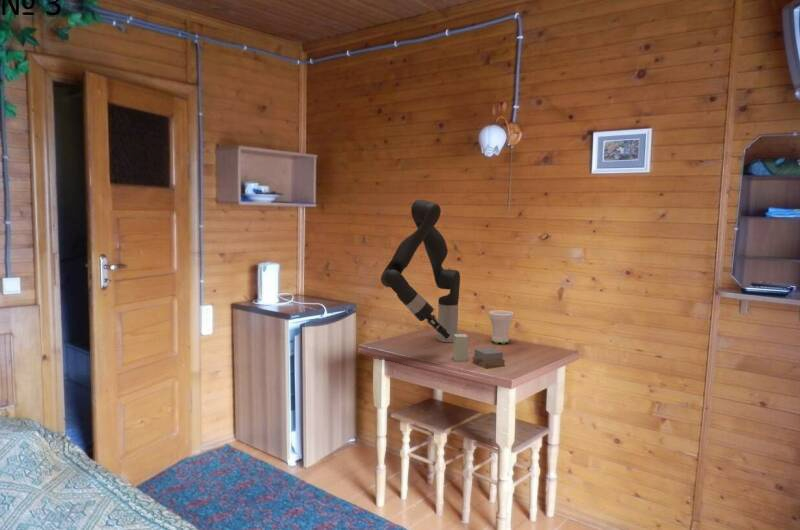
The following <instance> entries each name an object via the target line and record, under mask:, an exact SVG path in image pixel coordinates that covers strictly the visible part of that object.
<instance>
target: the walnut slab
mask: <svg viewBox="0 0 800 530" xmlns="http://www.w3.org/2000/svg"><path fill="white" fill-rule="evenodd" d="M505 363H506V360H505V359H504V358H503V360H495V361H486V362H485V361H483V360H481V359H479V358H476V357H474V356H472V364H474V365H475V366H479V367H481V368H484V369H488V370H489V369H494V368H499V367H505V366H506V364H505Z"/></svg>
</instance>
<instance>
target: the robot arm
mask: <svg viewBox="0 0 800 530" xmlns="http://www.w3.org/2000/svg"><path fill="white" fill-rule="evenodd" d="M410 212H411V213H410V214H411V217H412V220H413V222H414V224H415V226H416V228H417V229H416V230H415V231H413V233H411V234H410V235H409V236H407V237H406V238H405V239H404V240H402V242H401V243H400V244H399V245H398V247H397V249H396V251H395V253H394V254H393V256H392V259H391V260H390V261H389V262H388V264H387V265H386V267H385V269H384V270H383V272H382V274H381V276H380V281H381V284H382V286H384V287H385V288H391V289H392V291H394V292H395V294H396V296H397V298H398V299H399V301H400V302H401V303H402V304H403V305H404V306H406V308H407V310H408V311H409V312H410V313H411V314H412V315H413V316H414V317H415V318H416V319H417V320H419V322H423V321H425V320H426V322H427V324H428V325H429V326H431V327H432V328H433V329H434V330H436V339H437V341H439V342H443V343H453V342H454V334H458V332H459V331H458V328H459V322H458V321H459V299H460V287H461V285H460V284H461V274H460V271H459V270H456V269H445V268H443V263H444V262H445V260H446V258H447V255H448V253H449V252H448V251H449V250H448V246H447V243H446V242H447V241H446V240H445V238H444V236H443V235H442V233H441V232H440V231H439V230H438V229H437V228H436V227H435V225H436V224H437V222H438V221H439V219H440V217H441V212H442V209H441V206H440V205H439V204H438V203H436V202H432V201H428V200H424V199H416V200H414V201H413V203H412V205H411V211H410ZM422 243H423V245H424V249H425V252H426V254H427V258H428V260H429V263H430V266H431V268H432V273H433V278H434V282H435V285H436V287H437V288H438V289H441V290H449V293H448V294H446V295H442V296H440V297H438V299H437V301H438V304H437V305H438V307H437V308H438V309H437V317H436V316H435V314H432V313H433V312H434V307H433V306H432V305H431V304H430V303H429V302H428V301H427V300H426V299H425V297H423V296H421V295H420V294H419V293H418V292H417V291H416V290H415V289H414V288H413V287H412V286H411V285H410V284H409V283H408V280H406V278H405V277H404V275H403V272H404V270H405V269H407V267H408V266H409V264H410V262H411V261H412V259H413V257H414V254H415V253H416V251H417V250H418V248H419V246H420V245H421V244H422Z"/></svg>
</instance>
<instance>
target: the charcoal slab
mask: <svg viewBox="0 0 800 530" xmlns="http://www.w3.org/2000/svg"><path fill="white" fill-rule="evenodd" d="M503 355H504V352H503V351H501V350H498V349H496V348H493V347H483V348H476V349H474V356H473V357H476V358H479V359H481V360H483V361H485V362H486V361H495V360H503V359H504V357H503Z"/></svg>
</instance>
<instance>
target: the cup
mask: <svg viewBox="0 0 800 530" xmlns="http://www.w3.org/2000/svg"><path fill="white" fill-rule="evenodd" d="M488 318H489V320H490V322H491V326H492V327H491V328H492V336H491V341H492V343H494V344H495V345H498V344H499V343H500V344H501V345H505V344H509V341H510V337H509V333H510V332H509V331H510V327H511V324H512V321H513V319H514V312H513V311H510V310H500V309H499V310H498V309H496V310H495V309H494V310H490V311H488Z"/></svg>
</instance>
